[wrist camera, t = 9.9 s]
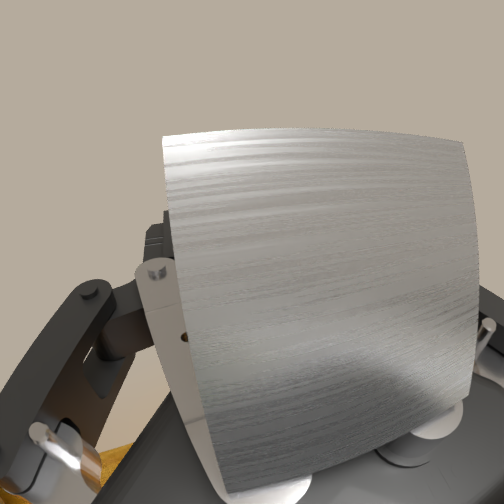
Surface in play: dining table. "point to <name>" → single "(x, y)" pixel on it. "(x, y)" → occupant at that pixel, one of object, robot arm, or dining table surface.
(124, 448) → the dining table surface
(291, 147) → the bar
